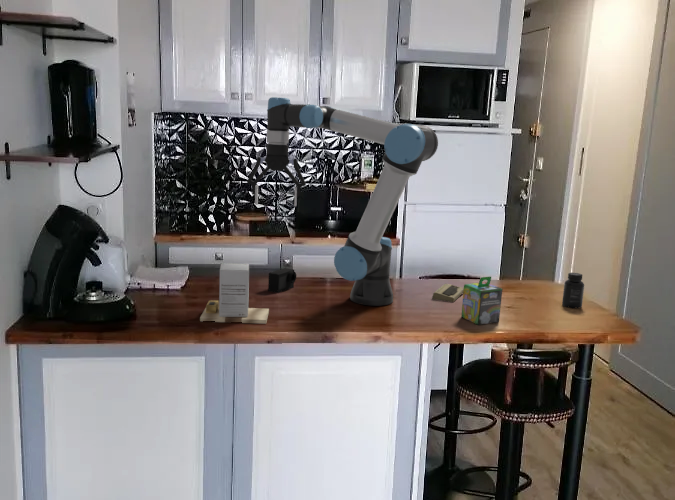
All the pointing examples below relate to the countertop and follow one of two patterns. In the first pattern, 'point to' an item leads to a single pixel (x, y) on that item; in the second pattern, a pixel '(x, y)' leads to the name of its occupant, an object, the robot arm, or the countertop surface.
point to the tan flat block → (448, 293)
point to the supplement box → (234, 290)
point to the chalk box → (481, 302)
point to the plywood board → (253, 317)
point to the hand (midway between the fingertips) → (275, 205)
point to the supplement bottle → (573, 291)
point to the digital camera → (281, 280)
